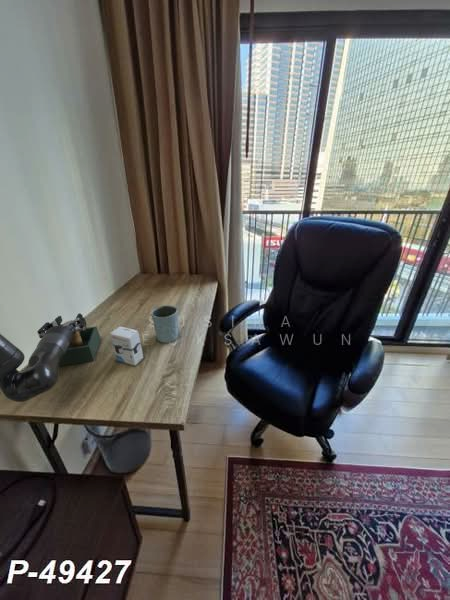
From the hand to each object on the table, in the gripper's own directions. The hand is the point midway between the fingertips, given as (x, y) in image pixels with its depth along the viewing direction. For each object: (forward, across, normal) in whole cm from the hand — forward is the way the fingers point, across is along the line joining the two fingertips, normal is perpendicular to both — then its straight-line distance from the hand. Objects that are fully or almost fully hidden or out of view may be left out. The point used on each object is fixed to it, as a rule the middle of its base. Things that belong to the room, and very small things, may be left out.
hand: (70, 316), depth 90 cm
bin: (-2, 0, +14) cm, 14 cm away
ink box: (-12, -19, +14) cm, 27 cm away
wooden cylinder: (-3, 0, +13) cm, 13 cm away
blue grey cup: (-1, -33, +14) cm, 36 cm away
